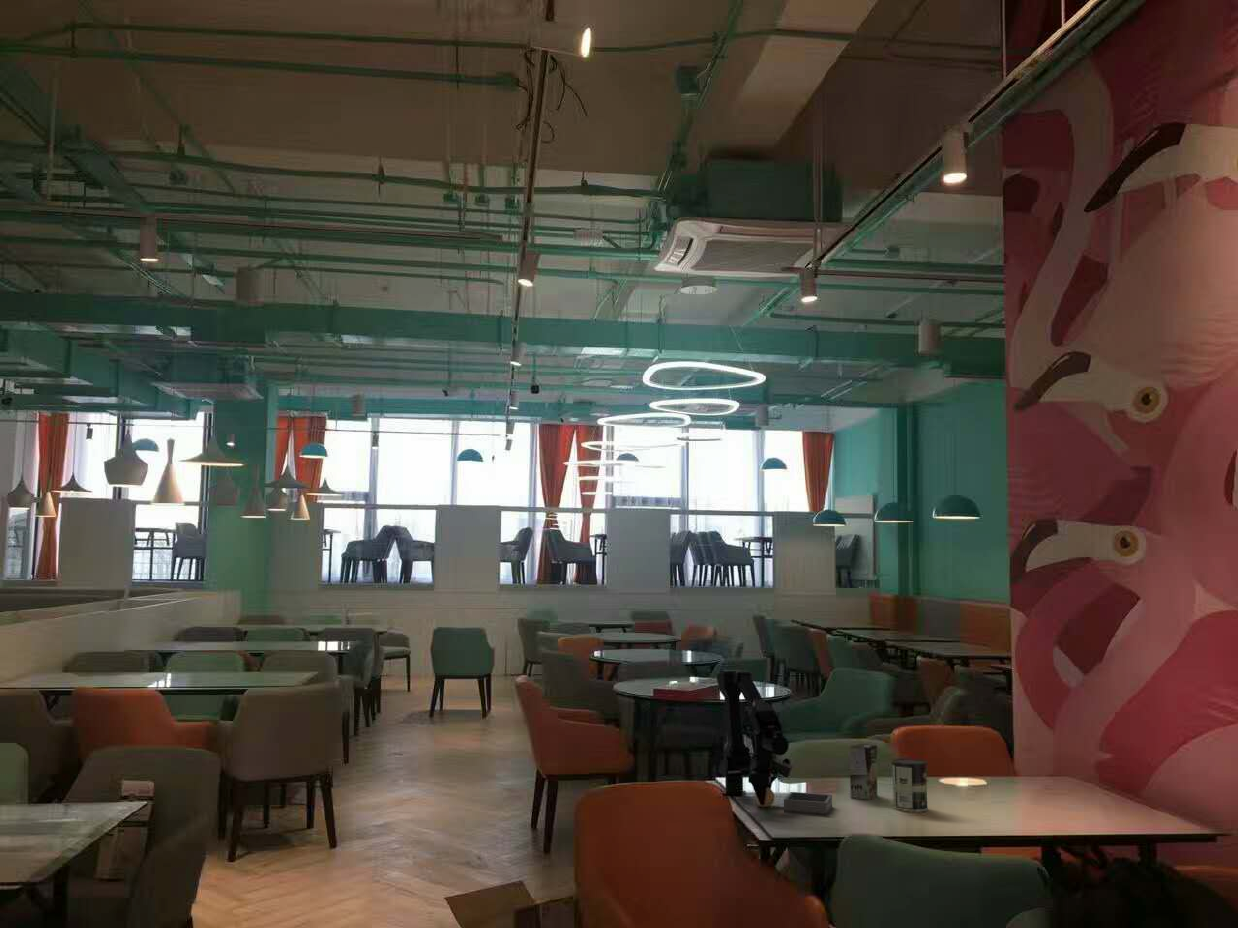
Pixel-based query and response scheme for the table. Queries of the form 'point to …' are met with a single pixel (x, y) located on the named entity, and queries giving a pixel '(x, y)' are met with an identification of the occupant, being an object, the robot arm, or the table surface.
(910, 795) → the coffee can
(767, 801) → the ball
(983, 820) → the table surface
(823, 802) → the grey open square tray
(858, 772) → the coffee box
